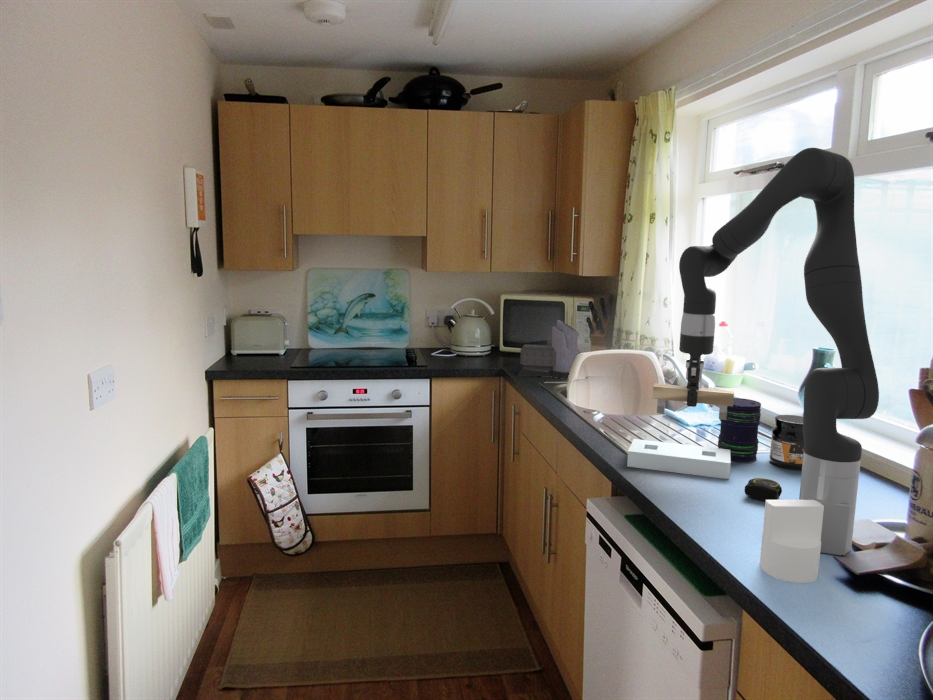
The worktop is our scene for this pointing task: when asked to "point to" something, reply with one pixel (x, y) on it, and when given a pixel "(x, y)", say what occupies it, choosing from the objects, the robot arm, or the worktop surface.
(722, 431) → the storage jar
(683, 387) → the miniature wooden bench
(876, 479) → the worktop surface
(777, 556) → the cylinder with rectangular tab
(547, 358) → the juicer
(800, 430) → the supplement container
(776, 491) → the tape measure
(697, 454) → the slot board
